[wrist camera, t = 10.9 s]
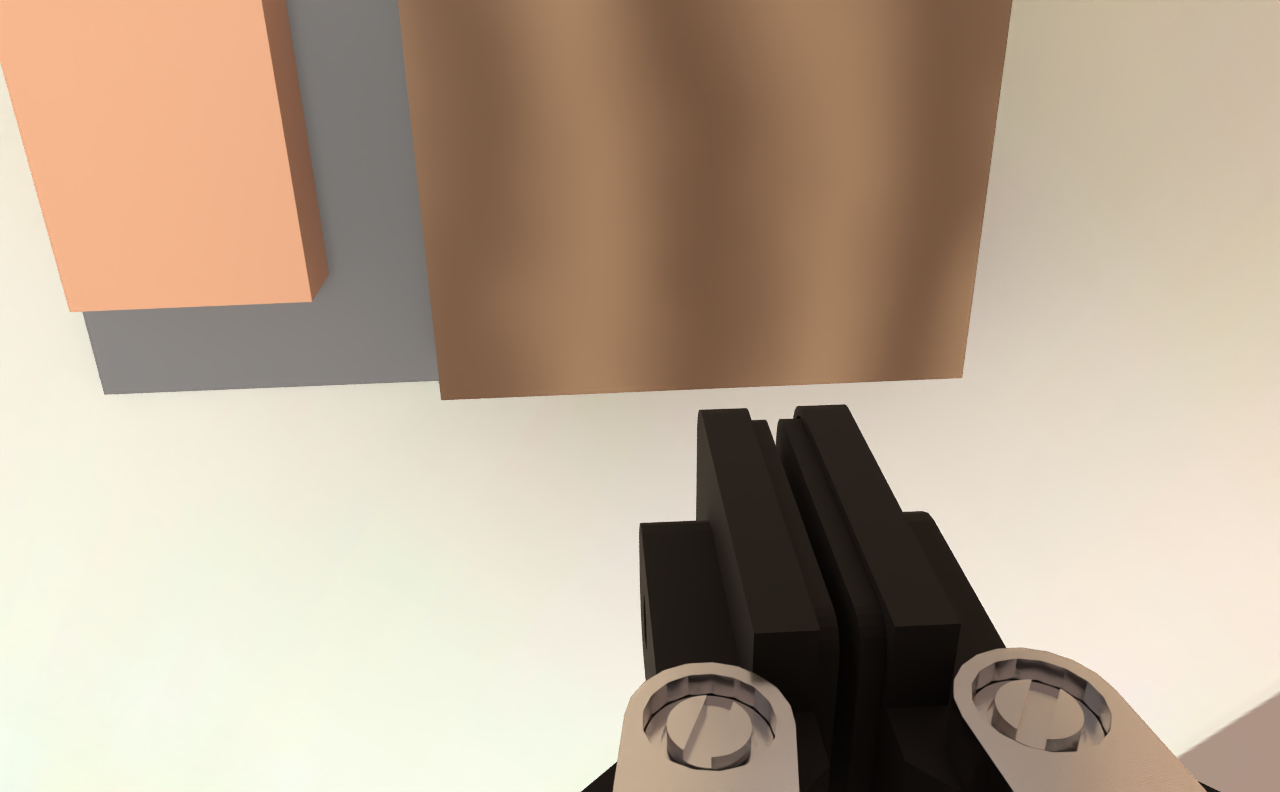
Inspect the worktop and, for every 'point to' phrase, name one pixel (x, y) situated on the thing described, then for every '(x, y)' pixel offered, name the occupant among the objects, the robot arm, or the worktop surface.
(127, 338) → the mat
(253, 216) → the peach flat block
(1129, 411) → the worktop surface
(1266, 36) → the worktop surface
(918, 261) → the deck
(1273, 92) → the worktop surface
